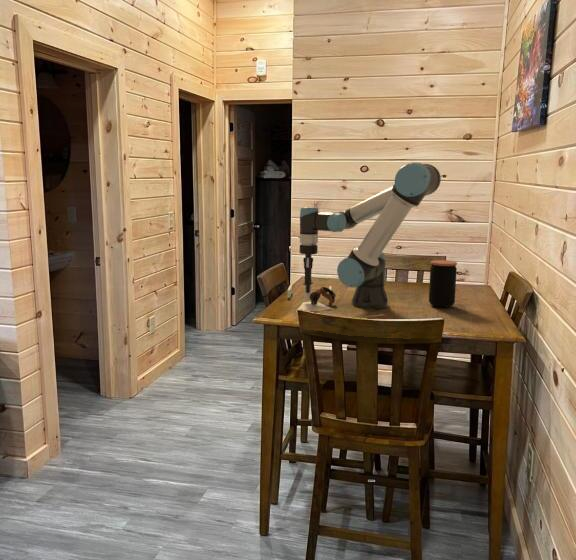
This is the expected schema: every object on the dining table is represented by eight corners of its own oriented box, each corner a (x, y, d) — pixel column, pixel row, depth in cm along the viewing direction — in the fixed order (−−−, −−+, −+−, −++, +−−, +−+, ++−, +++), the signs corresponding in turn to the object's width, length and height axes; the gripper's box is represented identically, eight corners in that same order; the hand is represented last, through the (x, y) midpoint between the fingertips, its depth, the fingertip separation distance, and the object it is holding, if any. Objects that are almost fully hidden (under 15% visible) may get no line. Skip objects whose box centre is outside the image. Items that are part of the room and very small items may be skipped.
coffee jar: (459, 306, 227) (461, 263, 224) (435, 307, 225) (437, 264, 222) (447, 301, 237) (450, 259, 234) (424, 301, 235) (426, 260, 232)
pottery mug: (318, 301, 236) (328, 285, 234) (331, 314, 231) (342, 298, 228) (300, 299, 227) (310, 283, 225) (314, 312, 222) (324, 296, 219)
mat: (334, 309, 222) (334, 308, 222) (298, 313, 215) (298, 312, 215) (315, 301, 236) (315, 301, 236) (281, 304, 229) (281, 304, 229)
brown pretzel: (289, 293, 252) (289, 285, 251) (331, 294, 250) (331, 285, 249) (287, 299, 240) (287, 290, 239) (331, 300, 238) (331, 291, 238)
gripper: (300, 242, 234) (299, 296, 238) (298, 245, 221) (297, 302, 225) (318, 242, 233) (317, 296, 237) (317, 246, 220) (316, 303, 225)
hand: (307, 299), depth 231 cm, fingers closed
